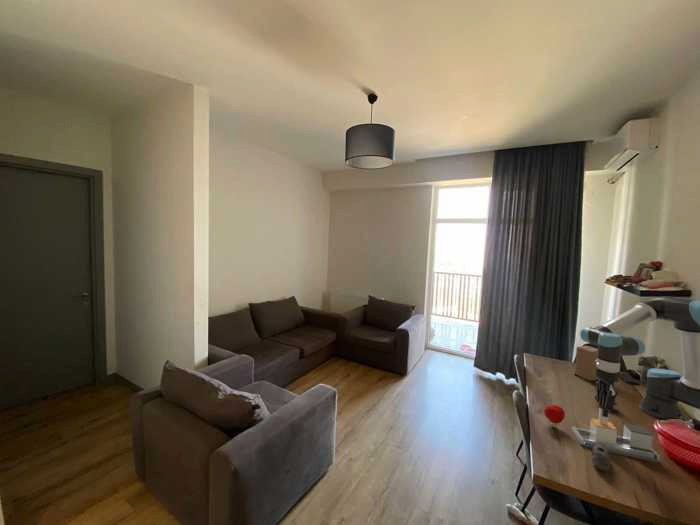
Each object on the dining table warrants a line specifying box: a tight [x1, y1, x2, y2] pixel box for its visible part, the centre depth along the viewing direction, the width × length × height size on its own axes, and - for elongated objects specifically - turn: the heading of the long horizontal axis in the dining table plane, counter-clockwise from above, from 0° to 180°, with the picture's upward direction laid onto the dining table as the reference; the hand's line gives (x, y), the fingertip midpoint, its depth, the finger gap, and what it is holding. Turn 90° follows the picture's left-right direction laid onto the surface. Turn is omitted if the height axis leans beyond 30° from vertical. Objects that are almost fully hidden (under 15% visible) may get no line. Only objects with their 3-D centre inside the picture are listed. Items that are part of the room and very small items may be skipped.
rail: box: [571, 423, 661, 464], centre depth 123 cm, size 26×10×10 cm, turn 70°
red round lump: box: [543, 404, 566, 428], centre depth 135 cm, size 9×7×10 cm
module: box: [589, 418, 618, 445], centre depth 124 cm, size 7×6×8 cm
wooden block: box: [574, 345, 599, 382], centre depth 190 cm, size 10×10×20 cm
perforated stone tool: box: [591, 442, 611, 473], centre depth 113 cm, size 15×5×7 cm, turn 138°
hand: (602, 422), depth 124 cm, fingers closed
